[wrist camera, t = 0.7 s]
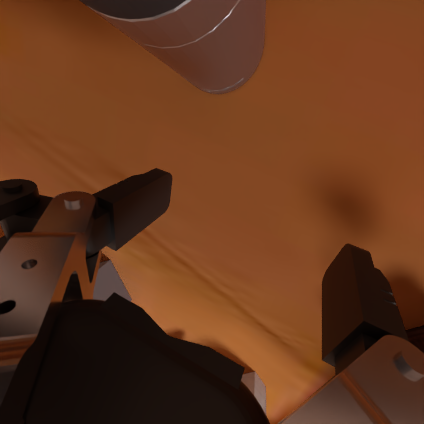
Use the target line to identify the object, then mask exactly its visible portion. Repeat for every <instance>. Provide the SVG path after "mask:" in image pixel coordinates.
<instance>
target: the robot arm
mask: <svg viewBox="0 0 424 424" xmlns="http://www.w3.org/2000/svg"><path fill="white" fill-rule="evenodd" d="M80 1H81V2H83V3H84V4H85V5H87V6H88V7H89V8H91V9H92V10H93V11H95V12H96V13H97V14H99V15H100V16H101V17H103V18H104V19H105V20H107V21H108V22H110V23H111V24H112V25H114V26H115V27H116V28H118V29H119V30H120V31H122V32H123V33H124V34H126V35H127V36H128V37H130V38H131V39H133V40H134V41H136V42H137V43H138V44H140V45H141V46H142V47H144V48H145V49H146V50H148V51H149V52H150V53H152V54H153V55H154V56H156V57H157V58H158V59H160V60H161V61H162V62H164V63H165V64H166V65H168V66H169V67H170V68H172V69H173V70H174V71H176V72H177V73H178V74H180V75H181V76H183V77H184V78H185V79H186V80H188V81H189V82H190V83H192V84H193V85H195V86H196V87H198V88H199V89H201V90H202V91H205V92H208V93H213V94H222V93H228V92H230V91H233V90H235V89H237V88H238V87H240V86H242V85H243V84H244V83H245V82H246V81H247V80H248V79H249V78H250V77H251V76H252V74H253V73H254V71H255V70H256V68H257V66H258V64H259V62H260V59H261V56H262V52H263V48H264V36H265V9H266V0H80ZM171 186H172V175H171V174H170V173H168V172H165V171H163V170H160V169H158V168H155V169H153V170H151V171H149V172H147V173H145V174H140V175H134V176H131V177H129V178H127V179H125V180H124V181H120V182H118V183H117V184H114V185H112V186H110V187H108V188H105V189H103V190H101V191H99V192H97V193H95V194H92V195H91V194H89V193H86V192H80V191H72V192H66V193H62V194H60V195H57V196H56V197H54V198H53V197H48V196H43V195H39V192H38V188H37V185H36V184H35V183H34V182H32V181H29V180H24V179H11V180H5V181H0V225H1V227H2V229H3V232H4V234H5V236H3V237H1V238H0V424H270V423H269V420H268V418H267V416H266V414H265V412H264V411H263V409H262V407H261V405H260V404H259V402H258V401H257V399H256V398H255V396H254V395H253V393H252V392H251V391H250V390H249V388H248V387H247V386H246V385H245V384H244V383H243V382H242V381H241V379H242V375H243V372H244V367H242V366H241V365H239V364H237V363H235V362H234V361H232V360H230V359H228V358H227V357H225V356H223V355H222V354H220V353H218V352H216V351H215V350H213V349H211V348H210V347H207V346H203V345H200V344H196V343H192V342H188V341H185V340H181V339H177V338H173V337H170V336H169V335H167V334H166V333H165V332H164V331H163V330H162V329H161V328H160V327H159V326H158V325H157V324H156V322H155V321H154V320H153V319H152V318H151V317H150V316H149V315H148V314H147V313H146V312H145V311H144V310H143V309H142V308H141V307H139V306H137V305H136V304H134V303H132V302H130V301H129V300H127V299H125V298H123V297H122V296H120V295H118V294H117V293H115V292H114V293H113V294H112V295H111V296H110V297H109V298H108V299H107V300H106V301H104V300H96V299H93V292H94V286H95V282H96V277H97V273H98V268H99V264H100V259H101V255H102V251H101V249H102V248H104V247H105V246H107V247H109V248H111V249H113V250H115V251H117V250H118V249H119V248H121V247H122V246H123V245H124V244H126V243H127V242H128V241H129V240H131V239H132V238H133V237H134V236H136V235H137V234H138V233H139V232H141V231H142V230H143V229H145V228H146V227H147V226H148V225H150V224H151V223H152V222H153V221H155V220H156V219H157V218H158V217H160V216H161V215H162V214H163V213H165V211H166V210H167V208H168V206H169V203H170V195H171ZM392 294H393V293H392V290H391V287H390V284H389V282H388V280H387V279H386V278H385V276H384V275H383V274H382V272H381V271H380V270H379V269H377V268H374V265H373V261H372V258H371V254H370V252H369V251H366V250H364V249H361V248H359V247H356V246H353V245H351V244H346V245H345V246H344V247H343V248H342V249H341V251H340V252H339V254H338V255H337V256H336V258H335V259H334V260H333V262H332V263H331V265H330V266H329V267H328V269H327V270H326V272H325V274H324V277H323V281H322V360H323V361H325V362H327V363H328V364H330V365H332V366H334V367H335V374H336V375H335V376H334V377H332V378H331V379H330V380H329V381H328V382H326V383H325V384H324V385H323V386H322V387H321V388H319V389H318V390H317V391H316V392H315V393H313V394H312V395H311V396H310V397H309V398H308V399H306V400H305V401H304V402H303V403H302V404H300V405H299V406H298V407H297V408H296V409H294V410H293V411H292V412H291V413H290V414H288V415H287V416H286V417H285V418H284V419H282V420H281V421H280V422H279V423H278V424H424V353H423V352H422V351H420V350H419V349H418V348H417V347H416V346H414V345H413V344H411V343H410V342H409V340H408V337H407V334H406V331H405V328H404V325H403V322H402V319H401V316H400V313H399V310H398V307H397V306H396V302H395V299H394V296H392Z"/></svg>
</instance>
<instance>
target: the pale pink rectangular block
mask: <svg viewBox="0 0 424 424" xmlns="http://www.w3.org/2000/svg"><path fill="white" fill-rule="evenodd" d="M241 381H242V382H243V383H244V384H245V385H246V386H247V387H248V388H249V390H250V391H251V392H252V393H253V395H254V396H255V398H256V399H257V401H258V402H259V404H260V405H261V407H262V409H263V411H264V412H265V414H266V386H265V385H264V383H263V382H262V381H261V379H260V378H259V376H258V375H257V374H256V372H250V373H246V374H243V375H242V379H241Z"/></svg>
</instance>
